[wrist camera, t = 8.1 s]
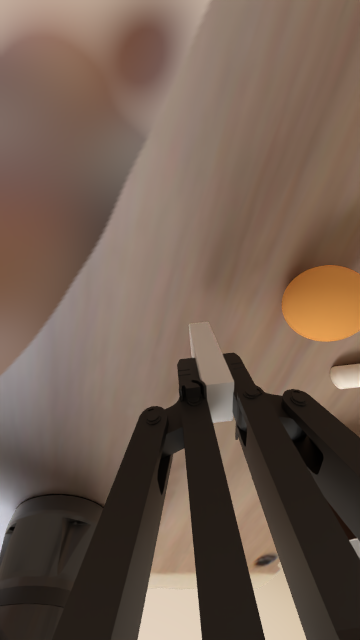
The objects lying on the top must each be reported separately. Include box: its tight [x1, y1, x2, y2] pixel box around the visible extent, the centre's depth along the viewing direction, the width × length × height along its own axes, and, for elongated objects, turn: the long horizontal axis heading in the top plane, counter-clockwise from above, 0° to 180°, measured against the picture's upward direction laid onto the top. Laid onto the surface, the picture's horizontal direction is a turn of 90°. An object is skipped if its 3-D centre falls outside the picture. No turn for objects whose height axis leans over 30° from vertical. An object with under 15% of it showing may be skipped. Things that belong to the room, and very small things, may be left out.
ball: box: [282, 265, 360, 342], centre depth 17 cm, size 6×6×6 cm
